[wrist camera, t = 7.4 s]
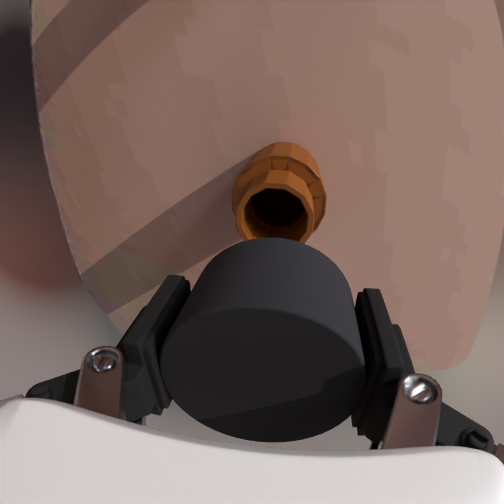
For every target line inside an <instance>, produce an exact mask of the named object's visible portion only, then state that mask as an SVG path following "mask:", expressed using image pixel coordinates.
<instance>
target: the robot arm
mask: <svg viewBox="0 0 504 504" xmlns="http://www.w3.org/2000/svg"><path fill="white" fill-rule="evenodd" d="M190 293H191V290H190V282H189V281H188V280H185V277H184V276H178V275H168V276H167V278H166V279H165V281H164V282H163V283H162V285H161V286H160V288H159V289H158V290H157V292H156V293H155V295H154V296H153V297H152V299H151V300H150V302H149V303H148V305H147V306H144V307H143V308H142V310H141V311H140V313H139V314H138V316H137V317H136V318H135V320H134V321H133V323H132V324H131V326H130V327H129V328H128V330H127V331H126V333H125V334H124V336H123V338H122V339H121V340H120V342H119V343H118V345H117V346H116V348H115V347H112V346H101V347H97V348H95V349H92V350H91V351H89V352H88V353H87V354H86V355H85V356H84V358H83V361H82V364H81V369H79V370H76V371H74V372H70V373H68V374H65V375H62V376H59V377H56V378H53V379H50V380H47V381H44V382H41V383H38V384H36V385H34V386H33V387H32V388H30V389H29V391H28V392H27V394H26V396H25V397H24V396H23V395H22V394H20V395H17V396H14V397H10V398H7V399H4V400H0V504H504V445H502V444H500V443H499V444H498V445H497V446H496V445H495V444H494V440H493V437H492V435H491V434H490V432H489V431H488V430H487V429H486V428H484V427H483V426H481V425H479V424H478V423H476V422H474V421H473V420H471V419H469V418H468V417H466V416H464V415H463V414H461V413H459V412H458V411H456V410H455V409H453V408H451V407H450V406H448V405H446V404H445V403H443V402H442V389H441V387H440V385H439V384H438V383H437V381H436V380H435V379H433V378H432V377H430V376H428V375H425V374H419V373H415V371H414V368H413V364H412V361H411V358H410V355H409V352H408V349H407V346H406V343H405V340H404V337H403V335H402V332H401V329H400V327H399V325H397V324H392V323H391V320H390V317H389V314H388V311H387V308H386V306H385V303H384V300H383V297H382V294H381V292H380V290H379V289H371V288H364V290H363V292H358V295H357V299H356V304H355V312H356V316H357V321H358V326H359V331H360V336H361V341H362V346H363V352H364V357H365V363H366V369H367V376H368V377H367V385H366V388H365V391H364V394H363V397H362V399H361V402H360V404H359V406H358V407H357V408H356V410H355V411H354V412H353V413H352V414H351V419H352V426H353V427H357V431H358V435H366V437H367V438H368V439H370V440H371V443H370V445H369V448H368V450H346V451H345V450H340V451H338V450H335V451H334V450H331V451H330V450H326V451H325V450H300V449H284V448H271V447H261V446H251V445H243V444H235V443H227V442H220V441H214V440H209V439H203V438H197V437H192V436H187V435H182V434H177V433H172V432H168V431H163V430H159V429H154V428H150V427H146V417H145V416H147V415H149V414H150V413H152V414H156V415H161V414H162V411H163V409H164V408H168V407H169V405H170V403H171V401H172V397H171V396H170V395H169V393H168V391H167V390H166V388H165V386H164V384H163V381H162V378H161V374H160V369H159V356H160V351H161V348H162V345H163V343H164V341H165V339H166V337H167V335H168V333H169V331H170V329H171V328H172V326H173V324H174V322H175V320H176V318H177V317H178V315H179V313H180V311H181V309H182V307H183V306H184V304H185V302H186V300H187V298H188V297H189V295H190Z"/></svg>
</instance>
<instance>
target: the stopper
mask: <svg viewBox="0 0 504 504" xmlns="http://www.w3.org/2000/svg"><path fill="white" fill-rule="evenodd" d="M159 369H160V374H161V378H162V381H163V384H164V386H165V388H166V390H167V391H168V393H169V395H170V396H171V397H172V399H173V400H174V401H175V402H176V403H177V404H178V405H179V407H180V408H182V409H183V410H184V411H185V412H186V413H187V414H188V415H190V416H191V417H193V418H194V419H195V420H197V421H198V422H200V423H202V424H204V425H205V426H207V427H210V428H211V429H214V430H216V431H218V432H221V433H223V434H226V435H229V436H233V437H236V438H240V439H245V440H251V441H258V442H289V441H296V440H302V439H306V438H310V437H314V436H316V435H319V434H322V433H324V432H326V431H329V430H331V429H333V428H334V427H336V426H338V425H339V424H341V423H342V422H343V421H344V420H346V419H347V418H348V417H349V416H350V415H351V414H352V413H353V412H354V411H355V410H356V408H357V407H358V406H359V404H360V402H361V399H362V397H363V394H364V391H365V388H366V385H367V377H368V376H367V369H366V363H365V357H364V352H363V346H362V341H361V336H360V331H359V326H358V321H357V316H356V312H355V307H354V303H353V298H352V294H351V290H350V287H349V284H348V282H347V280H346V278H345V276H344V275H343V273H342V272H341V270H340V269H339V268H338V267H337V265H336V264H335V263H334V262H333V261H331V260H330V259H329V258H328V257H327V256H325V255H324V254H323V253H321V252H320V251H318V250H316V249H314V248H312V247H310V246H308V245H306V244H303V243H300V242H297V241H293V240H289V239H283V238H258V239H251V240H247V241H243V242H240V243H238V244H235V245H233V246H230V247H229V248H227V249H225V250H223V251H222V252H220V253H219V254H218V255H217V256H215V257H214V258H213V259H212V260H211V261H210V262H209V263H208V264H207V266H206V267H205V269H204V270H203V272H202V273H201V275H200V277H199V279H198V280H197V282H196V284H195V286H194V288H193V289H192V291H191V293H190V295H189V297H188V298H187V300H186V302H185V304H184V306H183V307H182V309H181V311H180V313H179V315H178V317H177V318H176V320H175V322H174V324H173V326H172V328H171V329H170V331H169V333H168V335H167V337H166V339H165V341H164V343H163V345H162V348H161V351H160V356H159Z"/></svg>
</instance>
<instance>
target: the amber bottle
mask: <svg viewBox="0 0 504 504" xmlns="http://www.w3.org/2000/svg"><path fill="white" fill-rule="evenodd" d="M326 198H327V197H326V192H325V189H324V185H323V182H322V179H321V175H320V172H319V169H318V166H317V163H316V161H315V159H314V158H313V157H312V155H311V154H310V153H309V152H308V151H307V150H305V149H304V148H302V147H301V146H299V145H296V144H293V143H288V142H278V143H274V144H271V145H268V146H266V147H264V148H263V149H262V150H261V151H259V152H258V153H257V154H256V155H255V156H254V157H253V158H252V160H251V161H250V162H249V163H248V164H247V165H246V166H245V168H244V169H243V170H242V171H241V172H240V173H239V175H238V177H237V179H236V182H235V184H234V187H233V189H232V210H233V212H234V214H235V217H236V227H237V230H238V231H239V233H240V235H241V236H242V238H243V240H244V241H247V240H251V239H258V238H283V239H289V240H293V241H297V242H300V243H303V244H305V242H306V241H307V239H308V238H309V237H310V235H311V234H312V233H313V232H314V231H316V229H317V228H318V226H319V224H320V223H321V221H322V219H323V217H324V215H325V209H326Z"/></svg>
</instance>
